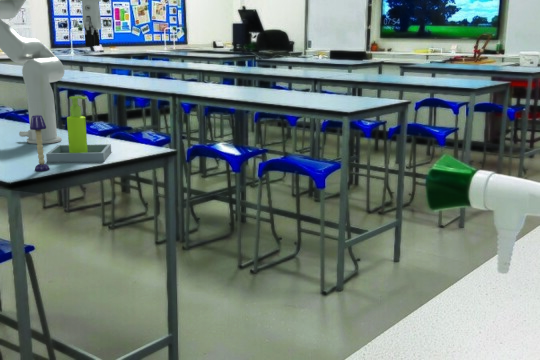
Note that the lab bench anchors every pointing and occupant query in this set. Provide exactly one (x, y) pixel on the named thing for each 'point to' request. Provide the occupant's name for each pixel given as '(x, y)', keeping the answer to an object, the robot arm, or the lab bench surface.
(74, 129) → the soap dispenser
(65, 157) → the tray
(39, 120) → the toy lamp
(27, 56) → the robot arm
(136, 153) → the lab bench surface
